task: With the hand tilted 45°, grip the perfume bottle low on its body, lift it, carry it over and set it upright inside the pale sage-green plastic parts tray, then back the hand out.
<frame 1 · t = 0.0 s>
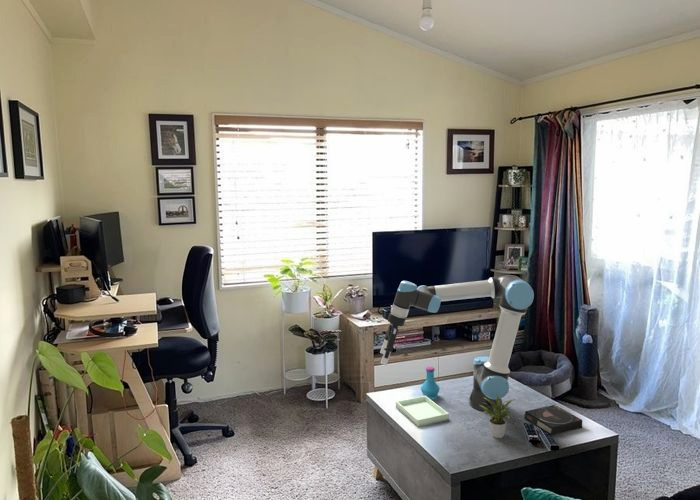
hand: (383, 358, 232), 28 cm above the table, tool tilted 20°, fingers open, 13 cm apart
house plant: (498, 434, 219), on the table
perfume bottle: (430, 397, 257), on the table
parts tray: (421, 413, 239), on the table
dark brown book: (552, 424, 227), on the table
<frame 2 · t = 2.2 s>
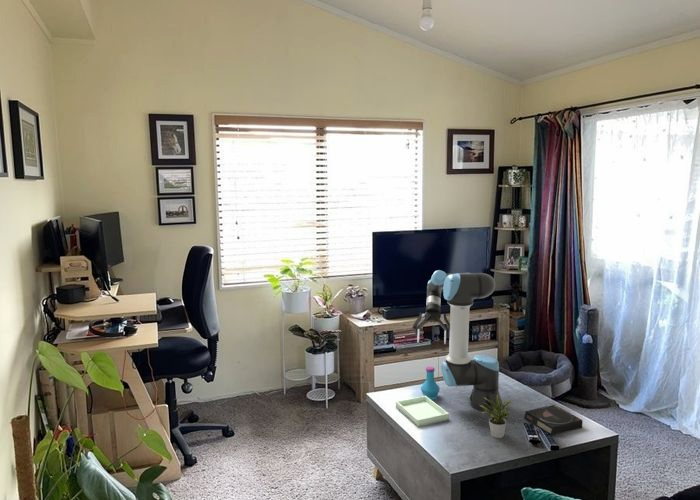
hand: (431, 342, 263), 25 cm above the table, tool tilted 45°, fingers open, 13 cm apart
nothing on the table moved.
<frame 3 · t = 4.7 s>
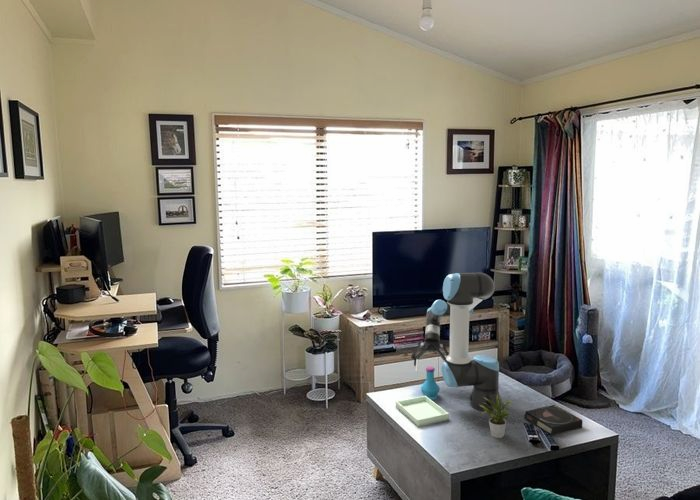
hand: (429, 372, 261), 10 cm above the table, tool tilted 45°, fingers open, 13 cm apart
nothing on the table moved.
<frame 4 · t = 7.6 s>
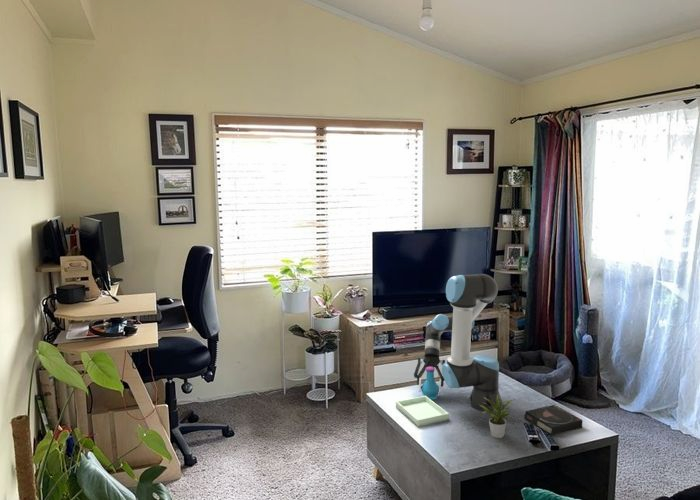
hand: (429, 391, 253), 4 cm above the table, tool tilted 45°, fingers closed on perfume bottle, 9 cm apart
perfume bottle: (430, 397, 257), on the table, touching gripper
everything else where it was.
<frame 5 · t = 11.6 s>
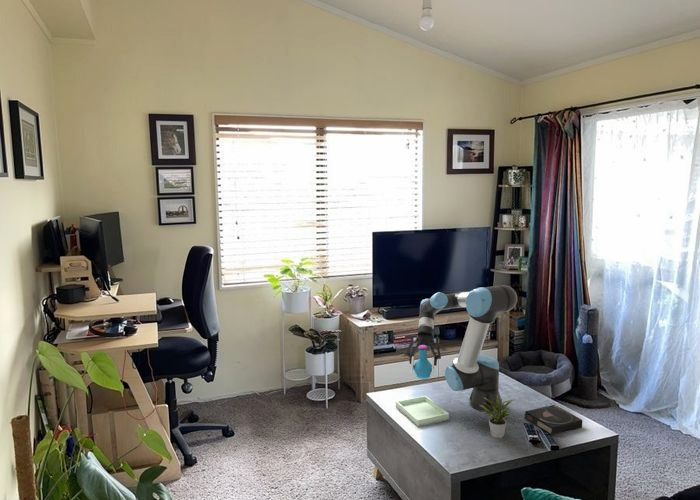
hand: (422, 370, 244), 17 cm above the table, tool tilted 45°, fingers closed on perfume bottle, 9 cm apart
perfume bottle: (423, 376, 248), point 13 cm above the table, touching gripper
everything else where it was.
when the fingers open (6 cm above the table, at t = 16.0 s): perfume bottle drops 1 cm, resting on parts tray.
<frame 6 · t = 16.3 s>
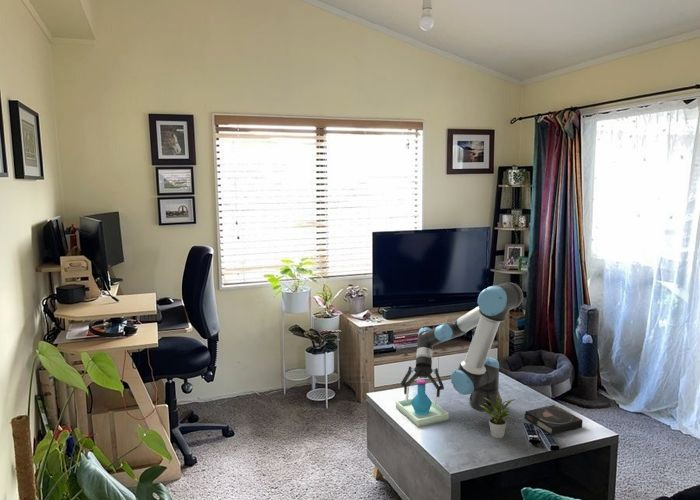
hand: (421, 402, 235), 7 cm above the table, tool tilted 45°, fingers open, 12 cm apart
perfume bottle: (421, 412, 239), point 1 cm above the table, touching parts tray
everything else where it was.
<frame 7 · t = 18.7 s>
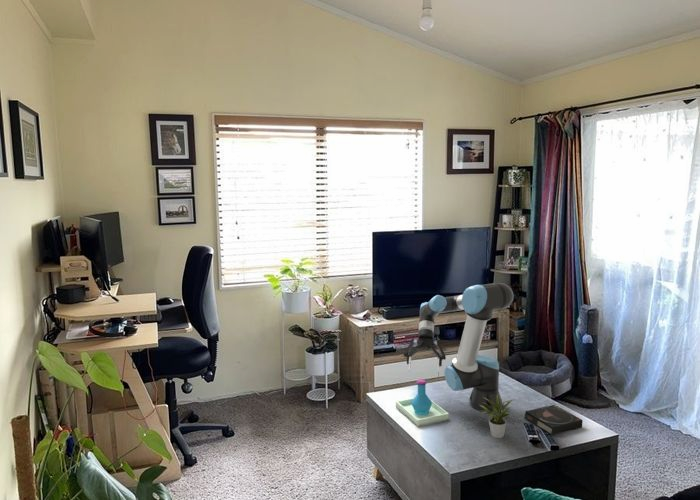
hand: (423, 371, 246), 16 cm above the table, tool tilted 45°, fingers open, 13 cm apart
nothing on the table moved.
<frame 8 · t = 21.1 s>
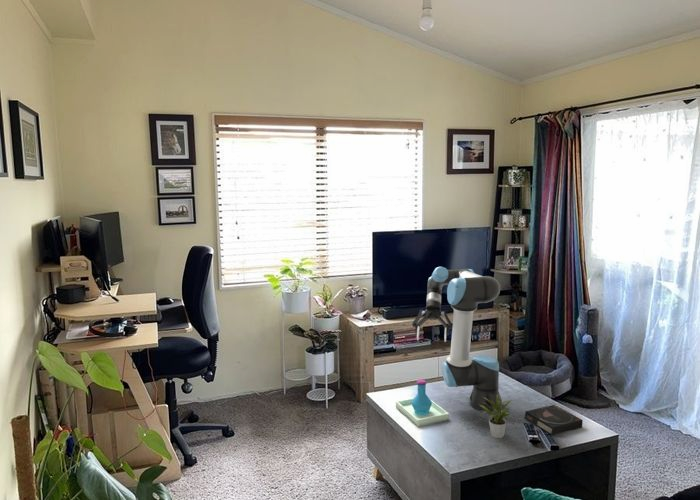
hand: (431, 339, 257), 28 cm above the table, tool tilted 45°, fingers open, 13 cm apart
nothing on the table moved.
at the end: perfume bottle inside the target area on the parts tray (0.1 cm from its centre), point 0.6 cm above the parts tray's base; perfume bottle tilted 0°; the gripper is holding nothing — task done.
